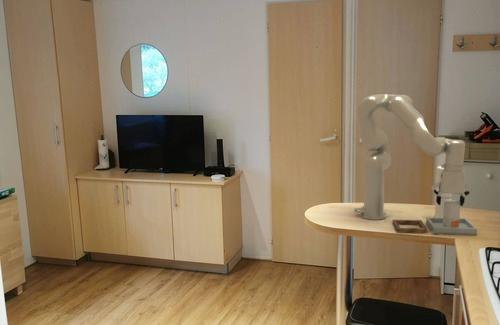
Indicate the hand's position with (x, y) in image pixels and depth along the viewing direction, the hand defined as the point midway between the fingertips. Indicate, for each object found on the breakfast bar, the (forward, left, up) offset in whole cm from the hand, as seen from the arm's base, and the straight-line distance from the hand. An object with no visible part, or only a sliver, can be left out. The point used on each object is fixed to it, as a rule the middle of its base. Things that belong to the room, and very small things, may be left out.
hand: (449, 204), depth 215 cm
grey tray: (+1, 0, -12) cm, 11 cm away
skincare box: (+1, 0, -11) cm, 11 cm away
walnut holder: (-17, 0, -12) cm, 21 cm away
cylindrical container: (+2, +17, -12) cm, 21 cm away
